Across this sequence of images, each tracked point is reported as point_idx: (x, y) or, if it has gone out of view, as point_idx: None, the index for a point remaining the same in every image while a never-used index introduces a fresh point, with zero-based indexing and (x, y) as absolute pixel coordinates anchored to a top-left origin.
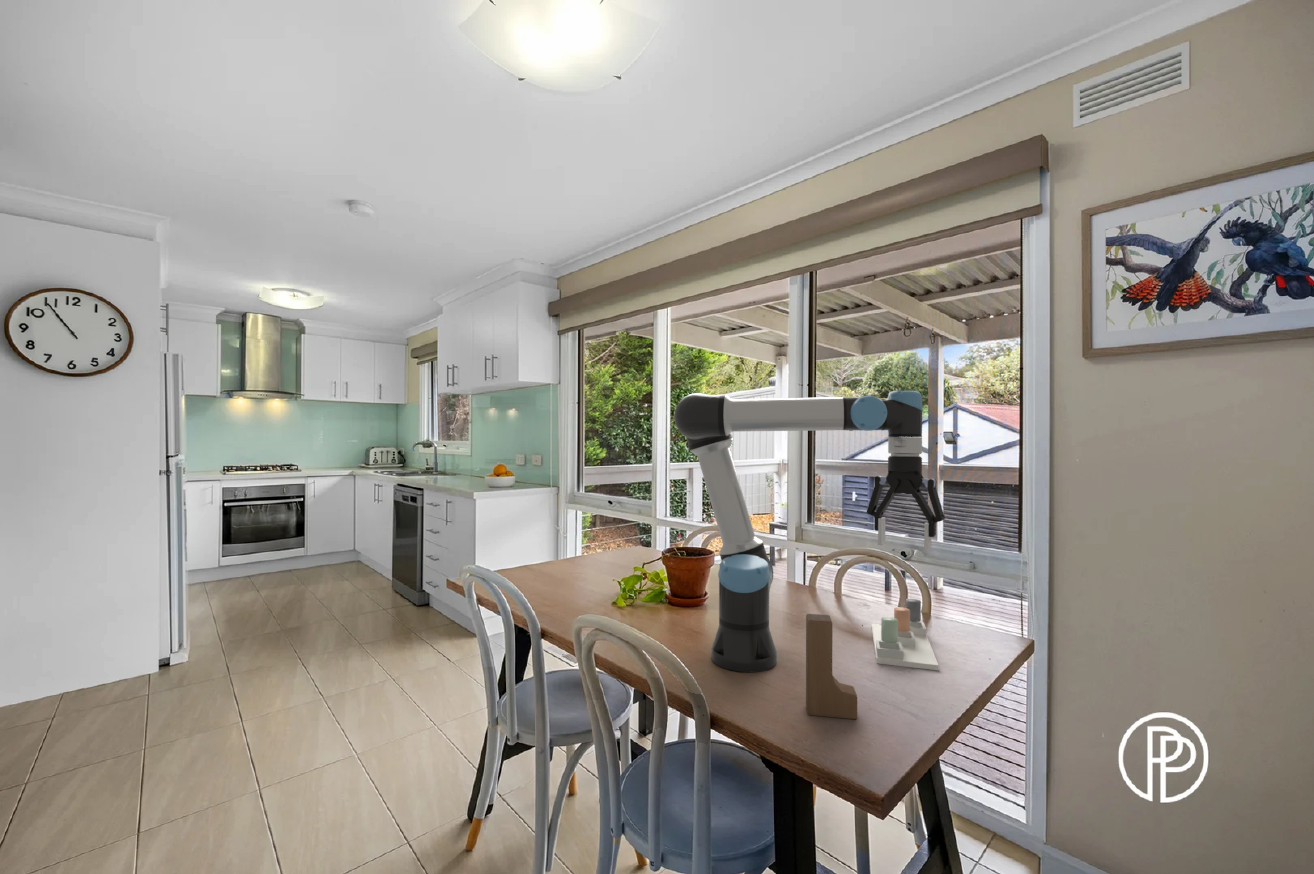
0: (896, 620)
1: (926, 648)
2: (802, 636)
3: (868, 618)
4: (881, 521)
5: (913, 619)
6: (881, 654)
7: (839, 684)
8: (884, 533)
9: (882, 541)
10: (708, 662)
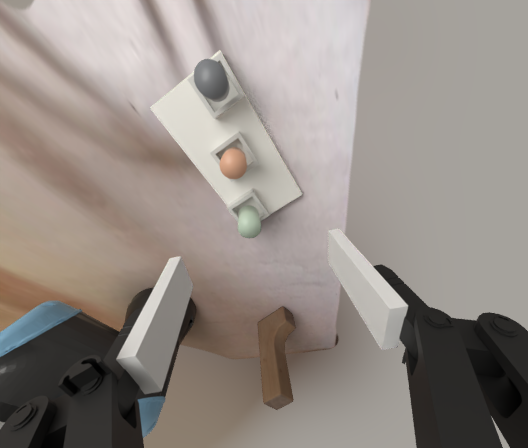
0: (258, 224)
1: (269, 151)
2: (135, 225)
3: (103, 51)
4: (166, 372)
5: (223, 99)
6: None
7: (281, 331)
8: (172, 291)
9: (186, 285)
10: None
